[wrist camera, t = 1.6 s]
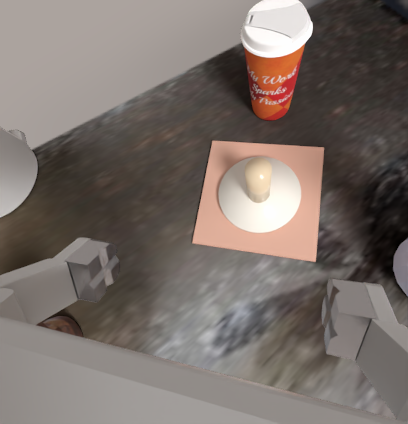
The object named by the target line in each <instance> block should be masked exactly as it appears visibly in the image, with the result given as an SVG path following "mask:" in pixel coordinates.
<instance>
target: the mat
mask: <svg viewBox="0 0 408 424" xmlns="http://www.w3.org/2000/svg"><path fill="white" fill-rule="evenodd" d="M257 156H264V157H270V158H274V159H277V160H279V161H281V162H283V163H285V164H286V165H287V166H289V167H290V168H291V169H292V171H293V172H294V173H295V175H296V176H297V178H298V180H299V183H300V186H301V201H300V204H299V207H298V210H297V212H296V214H295V215H294V217H293V218H292V219H291V220H290V221H289V222H288V223H287V224H286V225H285V226H283V227H281V228H280V229H278V230H275V231H272V232H269V233H260V234H258V233H250V232H246V231H243V230H241V229H239V228H237V227H236V226H234V225H233V224H232V223H231V222H230V221H229V220H228V219H227V218H226V216H225V215H224V213H223V211H222V209H221V206H220V203H219V195H218V193H219V187H220V183H221V181H222V179H223V177H224V175H225V174H226V172H227V171H228V170H229V169H230V168H231V167H232V166H233V165H235V164H236V163H238V162H240V161H242V160H244V159H247V158H251V157H257ZM323 156H324V147H308V146H291V145H275V144H259V143H242V142H226V141H212V146H211V151H210V156H209V161H208V166H207V171H206V176H205V181H204V186H203V191H202V196H201V201H200V206H199V211H198V216H197V221H196V226H195V231H194V236H193V241H192V243H194V244H200V245H207V246H213V247H220V248H227V249H233V250H240V251H246V252H253V253H259V254H266V255H273V256H279V257H286V258H292V259H299V260H305V261H312V262H316V251H317V238H318V224H319V210H320V197H321V183H322V169H323Z"/></svg>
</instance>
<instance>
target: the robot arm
mask: <svg viewBox="0 0 408 424" xmlns="http://www.w3.org/2000/svg"><path fill="white" fill-rule="evenodd" d="M37 170H38V165H37V159H36V156H35V154H34V152H33V151H32V150H31V149H30V148H29V147H28V145H27V143H26V138H25V135H24V133H23V132H21V131H19V130H11V131H6V130H5V129H3V128H1V127H0V217H2V216H4V215H6V214H8V213H10V212H12V211H13V210H14V209H16V208H17V207H18V206H19V205H20V204H21V203H22V202H23V201H24V200H25V199H26V197H27V196H28V195H29V193H30V191H31V190H32V188H33V186H34V183H35V180H36V177H37ZM116 253H117V247H116V245H115V244H114V243H112V242H106V241H101V240H96V239H89V238H84V237H81V238H78V239H76V240H75V241H74V242H73V243H71V244H70V245H69V246H68V247H66V248H65V249H64V250H63V251H61V252H60V253H59V254H58V255H56V256H55V257H54V258H53V259H46V260H43V261H40V262H37V263H34V264H31V265H28V266H26V267H23V268H20V269H17V270H14V271H11V272H8V273H5V274H2V275H0V424H408V328H407V327H406V326H404V325H401V324H398V322H397V320H396V317H395V315H394V313H393V310H392V308H391V305H390V303H389V301H388V298H387V296H386V294H385V291H384V289H383V287H382V286H381V285H379V284H371V283H364V282H363V283H361V282H354V281H348V280H342V279H335V278H330V279H329V281H328V285H327V291H328V295H326V296H325V297H324V301H323V306H322V323H323V326H324V327H325V328H326V330H325V334H324V339H325V347H326V354H330V355H334V356H338V357H342V358H346V359H350V360H354V361H356V364H357V365H358V366H359V368H360V369H361V370H362V372H363V373H364V374H365V376H366V377H367V379H368V380H369V381H370V383H371V384H372V385H373V387H374V388H375V389H376V391H377V392H378V394H379V395H380V396H381V398H382V399H383V400H384V402H385V403H386V404H387V406H388V407H389V409H390V410H391V411H392V413H393V414H394V415H395V417H396V419H394V418H390V417H386V416H382V415H378V414H374V413H371V412H367V411H363V410H359V409H355V408H351V407H348V406H344V405H340V404H336V403H332V402H328V401H325V400H321V399H317V398H313V397H309V396H305V395H302V394H298V393H294V392H290V391H286V390H282V389H279V388H275V387H271V386H267V385H263V384H259V383H256V382H252V381H248V380H244V379H240V378H236V377H233V376H229V375H225V374H221V373H217V372H213V371H210V370H206V369H202V368H198V367H194V366H190V365H187V364H183V363H179V362H175V361H171V360H167V359H164V358H160V357H156V356H152V355H148V354H144V353H141V352H137V351H133V350H129V349H125V348H121V347H118V346H114V345H110V344H106V343H102V342H98V341H94V340H91V339H87V338H83V337H79V336H75V335H71V334H68V333H64V332H60V331H56V330H52V329H48V328H45V327H41V326H37V324H38V323H40V322H42V321H43V320H45V319H47V318H48V317H50V316H52V315H53V314H55V313H57V312H59V311H60V310H62V309H64V308H65V307H67V306H69V305H70V304H72V303H74V302H75V301H77V300H78V299H81V300H86V301H91V302H98V301H99V300H100V298H101V297H102V296H103V295H104V294H105V292H106V291H107V286H108V285H110V284H112V283H114V281H115V280H116V279H117V277H118V274H119V272H120V262H119V260H118V258H117V257H116V256H115V255H116Z"/></svg>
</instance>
